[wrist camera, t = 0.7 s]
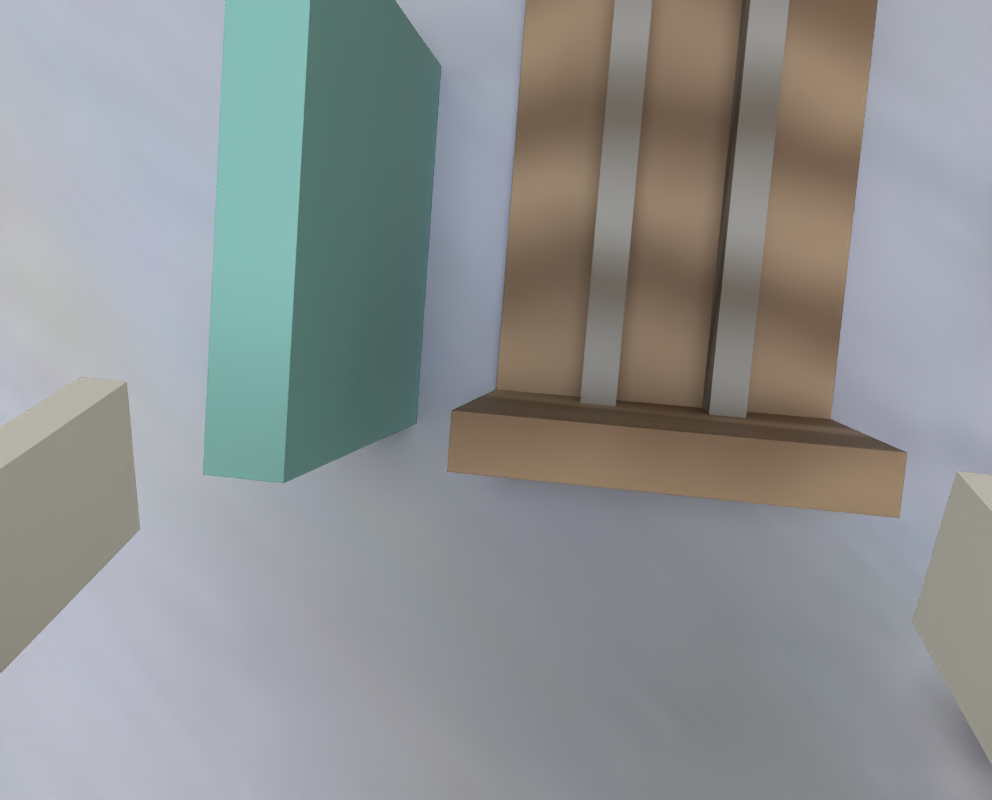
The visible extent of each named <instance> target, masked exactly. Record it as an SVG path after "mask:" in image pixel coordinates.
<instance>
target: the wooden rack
mask: <svg viewBox="0 0 992 800" xmlns="http://www.w3.org/2000/svg"><path fill="white" fill-rule="evenodd" d="M877 1H878V0H526V12H525V25H524V38H523V51H522V64H521V77H520V89H519V102H518V115H517V128H516V141H515V154H514V167H513V180H512V193H511V206H510V219H509V231H508V244H507V257H506V270H505V283H504V296H503V309H502V322H501V335H500V348H499V361H498V373H497V386H496V390H494V391H492V392H490V393H488V394H486V395H484V396H482V397H479V398H477V399H475V400H473V401H471V402H469V403H467V404H465V405H463V406H460V407H458V408H456V409H454V410H452V414H451V428H450V442H449V455H448V469H447V472H456V473H465V474H475V475H485V476H495V477H504V478H514V479H524V480H534V481H544V482H553V483H563V484H573V485H583V486H592V487H602V488H612V489H622V490H631V491H641V492H651V493H661V494H670V495H680V496H690V497H700V498H710V499H719V500H729V501H739V502H749V503H758V504H768V505H778V506H788V507H797V508H807V509H817V510H827V511H836V512H846V513H856V514H866V515H876V516H885V517H895V518H899V517H900V509H901V500H902V492H903V484H904V476H905V467H906V459H907V452H904V451H902V450H900V449H897V448H895V447H893V446H891V445H888V444H886V443H884V442H881V441H879V440H877V439H875V438H872V437H870V436H868V435H865V434H863V433H861V432H859V431H856V430H854V429H852V428H849V427H847V426H845V425H843V424H840V423H838V422H836V421H833V420H831V419H830V418H831V409H832V400H833V391H834V382H835V374H836V365H837V356H838V347H839V338H840V329H841V320H842V311H843V303H844V294H845V285H846V276H847V267H848V258H849V249H850V241H851V232H852V223H853V214H854V205H855V196H856V187H857V179H858V170H859V161H860V152H861V143H862V134H863V125H864V117H865V108H866V99H867V90H868V81H869V72H870V63H871V55H872V46H873V37H874V28H875V19H876V10H877Z"/></svg>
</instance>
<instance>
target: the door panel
mask: <svg viewBox="0 0 992 800" xmlns="http://www.w3.org/2000/svg"><path fill="white" fill-rule="evenodd" d="M440 75H441V65H440V64H439V63H438V61H437V60H436V58H435V57H434V55H433V54H432V53H431V51H430V50H429V48H428V47H427V45H426V44H425V43H424V41H423V40H422V38H421V37H420V35H419V34H418V32H417V31H416V30H415V28H414V27H413V25H412V24H411V22H410V21H409V20H408V18H407V17H406V15H405V14H404V12H403V11H402V10H401V8H400V7H399V5H398V4H397V2H396V1H395V0H225V18H224V39H223V60H222V81H221V103H220V124H219V145H218V166H217V187H216V209H215V230H214V251H213V272H212V293H211V315H210V336H209V357H208V378H207V399H206V421H205V442H204V463H203V475H211V476H220V477H230V478H239V479H248V480H257V481H267V482H276V483H285V482H287V481H289V480H292V479H294V478H296V477H298V476H300V475H303V474H305V473H307V472H309V471H312V470H314V469H316V468H318V467H320V466H323V465H325V464H327V463H329V462H331V461H334V460H336V459H338V458H340V457H343V456H345V455H347V454H349V453H351V452H354V451H356V450H358V449H360V448H362V447H365V446H367V445H369V444H371V443H374V442H376V441H378V440H380V439H382V438H385V437H387V436H389V435H391V434H393V433H396V432H398V431H400V430H402V429H405V428H407V427H409V426H411V425H413V424H416V421H417V407H418V392H419V378H420V363H421V349H422V335H423V320H424V306H425V291H426V277H427V262H428V248H429V234H430V219H431V205H432V190H433V176H434V162H435V147H436V133H437V118H438V104H439V89H440Z"/></svg>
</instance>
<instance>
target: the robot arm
mask: <svg viewBox="0 0 992 800" xmlns="http://www.w3.org/2000/svg"><path fill="white" fill-rule="evenodd" d="M139 530H140V524H139V513H138V502H137V490H136V479H135V468H134V457H133V446H132V435H131V424H130V413H129V401H128V390H127V382H125V381H115V380H106V379H97V378H87V377H81V378H79V379H77V380H76V381H74V382H73V383H71V384H69V385H68V386H66V387H65V388H63V389H61V390H60V391H58V392H56V393H55V394H53V395H52V396H50V397H48V398H47V399H45V400H44V401H42V402H40V403H39V404H37V405H36V406H34V407H32V408H31V409H29V410H27V411H26V412H24V413H23V414H21V415H19V416H18V417H16V418H15V419H13V420H11V421H10V422H8V423H6V424H5V425H3V426H2V427H0V673H1V672H2V671H3V670H4V669H5V668H6V667H7V666H8V665H9V664H10V663H11V662H12V661H13V660H14V659H15V658H16V657H17V656H18V655H19V654H20V653H21V652H22V651H23V650H24V649H25V648H26V647H27V646H28V645H29V644H30V643H31V641H32V640H33V639H34V638H35V637H36V636H37V635H38V634H39V633H40V632H41V631H42V630H43V629H44V628H45V627H46V626H47V625H48V624H49V623H50V622H51V621H52V620H53V619H54V618H55V617H56V616H57V615H58V614H59V613H60V612H61V610H62V609H63V608H64V607H65V606H66V605H67V604H68V603H69V602H70V601H71V600H72V599H73V598H74V597H75V596H76V595H77V594H78V593H79V592H80V591H81V590H82V589H83V588H84V587H85V586H86V585H87V584H88V583H89V582H90V581H91V579H92V578H93V577H94V576H95V575H96V574H97V573H98V572H99V571H100V570H101V569H102V568H103V567H104V566H105V565H106V564H107V563H108V562H109V561H110V560H111V559H112V558H113V557H114V556H115V555H116V554H117V553H118V552H119V551H120V550H121V549H122V547H123V546H124V545H125V544H126V543H127V542H128V541H129V540H130V539H131V538H132V537H133V536H134V535H135V534H136V533H137V532H138V531H139ZM912 623H913V625H914V627H915V628H916V630H917V632H918V634H919V636H920V637H921V639H922V641H923V643H924V645H925V646H926V648H927V650H928V652H929V653H930V655H931V657H932V659H933V661H934V662H935V664H936V666H937V668H938V670H939V671H940V673H941V675H942V677H943V679H944V680H945V682H946V684H947V686H948V687H949V689H950V691H951V693H952V695H953V696H954V698H955V700H956V702H957V704H958V705H959V707H960V709H961V711H962V713H963V714H964V716H965V718H966V720H967V721H968V723H969V725H970V727H971V729H972V730H973V732H974V734H975V736H976V738H977V739H978V741H979V743H980V745H981V746H982V748H983V750H984V752H985V754H986V755H987V757H988V759H989V761H990V763H991V764H992V475H987V474H977V473H968V472H959V471H957V472H956V476H955V479H954V482H953V486H952V489H951V492H950V496H949V499H948V503H947V506H946V509H945V513H944V516H943V520H942V523H941V526H940V530H939V533H938V536H937V540H936V543H935V547H934V550H933V553H932V557H931V560H930V564H929V567H928V570H927V574H926V577H925V580H924V584H923V587H922V591H921V594H920V597H919V601H918V604H917V608H916V611H915V614H914V618H913V621H912Z"/></svg>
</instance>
